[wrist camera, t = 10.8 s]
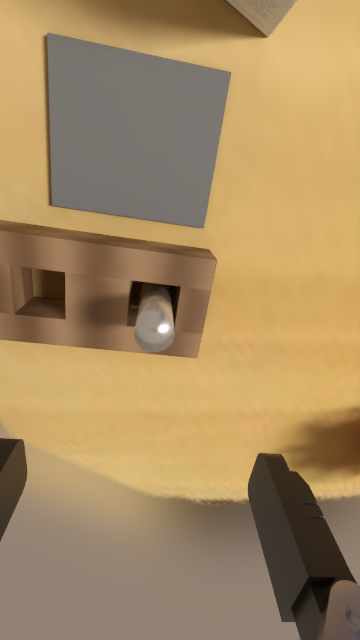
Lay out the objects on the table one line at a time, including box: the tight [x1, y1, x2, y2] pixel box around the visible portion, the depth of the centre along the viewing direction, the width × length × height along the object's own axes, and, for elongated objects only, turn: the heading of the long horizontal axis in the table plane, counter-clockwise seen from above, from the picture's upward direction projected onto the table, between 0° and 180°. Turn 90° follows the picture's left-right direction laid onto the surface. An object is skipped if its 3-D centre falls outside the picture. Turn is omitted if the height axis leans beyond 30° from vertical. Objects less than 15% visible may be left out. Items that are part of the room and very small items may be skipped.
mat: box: [47, 33, 231, 228], centre depth 25 cm, size 14×12×1 cm
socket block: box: [0, 220, 217, 358], centre depth 28 cm, size 20×10×4 cm, turn 81°
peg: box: [134, 282, 175, 352], centre depth 27 cm, size 3×3×10 cm
